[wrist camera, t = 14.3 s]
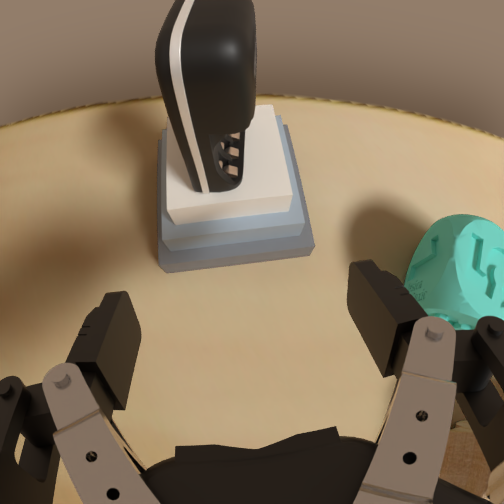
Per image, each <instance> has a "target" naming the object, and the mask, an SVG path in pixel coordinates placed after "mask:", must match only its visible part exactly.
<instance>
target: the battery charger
mask: <svg viewBox="0 0 504 504" xmlns="http://www.w3.org/2000/svg"><path fill="white" fill-rule="evenodd" d="M256 61H257V47H256V24H255V12H254V5H253V2H252V1H251V0H175V2H174V4H173V6H172V8H171V9H170V11H169V13H168V15H167V17H166V20H165V22H164V24H163V26H162V28H161V31H160V33H159V36H158V39H157V42H156V48H155V65H156V73H157V77H158V82H159V85H160V89H161V92H162V96H163V100H164V103H165V107H166V110H167V113H168V116H169V119H170V123H171V126H172V129H173V132H174V135H175V137H176V140H177V143H178V146H179V149H180V151H181V154H182V157H183V159H184V162H185V165H186V168H187V171H188V174H189V177H190V181H191V184H192V187H193V189H194V191H195V192H203V194H210V192H213V193H220V192H226V191H230V190H233V189H235V188H237V187H238V186H239V185H240V184H241V182H242V178H243V169H244V147H245V130H246V129H247V128H248V127H249V126H250V124H251V120H252V119H253V117H254V113H255V99H256V63H257V62H256Z"/></svg>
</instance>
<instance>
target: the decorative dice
mask: <svg viewBox="0 0 504 504" xmlns="http://www.w3.org/2000/svg"><path fill="white" fill-rule="evenodd" d="M404 287H406V289H407V290H408V291H409V293H410V294H411V295H412V296H413V297H414V298H415V299H416V301H417V302H418V303H419V304H420V306H421V307H422V308H423V309H424V311H425V312H426V313H427V314H428V316H434V317H439V318H442V319H444V320H446V321H448V322H449V323H450V324H451V325H452V326H453V327H454V329H455V330H474V329H475V327H476V324H477V322H478V320H479V319H480V318H481V317H484V316H495V317H498V318H501V319H502V320H504V231H503V230H502V229H501V228H500V227H499V226H497V225H496V224H494V223H493V222H491V221H489V220H487V219H485V218H482V217H478V216H474V215H466V214H458V215H451V216H447V217H445V218H442V219H440V220H438V221H437V222H435V223H434V224H433V225H432V226H431V227H430V228H429V230H428V231H427V232H426V233H425V235H424V236H423V238H422V240H421V241H420V243H419V245H418V247H417V249H416V251H415V253H414V255H413V257H412V260H411V262H410V265H409V268H408V271H407V274H406V278H405V283H404Z"/></svg>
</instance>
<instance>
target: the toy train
mask: <svg viewBox="0 0 504 504" xmlns="http://www.w3.org/2000/svg"><path fill="white" fill-rule="evenodd" d="M490 474H491V471H490V468H489V466H488V464H487V461H486V459H485V457H484V455H483V452H482V450H481V448H480V446H479V444H478V442H477V440H476V438H475V435H474V433H473V431H472V429H471V427H470V425H469V423H468V421H467V420H464V421H459V422H456V426H455V428H454V429H450V431H449V436H448V441H447V445H446V450H445V454H444V458H443V462H442V466H441V471H440V475H439V478H441V479H443V480H445V481H447V482H449V483H451V484H453V485H455V486H458V487H460V488H462V489H464V490H466V491H468V492H470V493H472V494H475V495H477V496H479V497H481V498H486V497H487V496H486V491H487V488H488V480H489V476H490Z"/></svg>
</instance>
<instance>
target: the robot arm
mask: <svg viewBox="0 0 504 504" xmlns="http://www.w3.org/2000/svg"><path fill="white" fill-rule="evenodd" d="M347 306H348V310H349V313H350V315H351V317H352V319H353V321H354V323H355V325H356V327H357V328H358V330H359V332H360V334H361V336H362V338H363V340H364V342H365V343H366V345H367V347H368V349H369V351H370V353H371V355H372V357H373V359H374V361H375V363H376V365H377V367H378V369H379V371H380V373H381V374H382V376H383V378H384V377H388V376H392V375H395V376H396V378H397V382H396V384H395V388H394V391H393V394H392V397H391V400H390V403H389V406H388V409H387V411H386V414H385V417H384V420H383V422H382V425H381V428H380V430H379V433H378V435H377V437H376V440H375V442H372V441H368V440H365V439H361V438H356V437H347V436H339V434H338V431H337V428H336V426H335V427H330V428H326V429H321V430H317V431H312V432H306V433H301V434H297V435H294V436H292V437H289V438H287V439H284V440H282V441H279V442H276V443H274V444H271V445H268V446H266V447H263V448H260V449H246V448H237V447H229V446H221V445H196V446H175V457H172V458H169V459H166V460H163V461H161V462H159V463H157V464H154V465H153V466H151V467H150V468H148V469H147V468H146V467H145V465H144V464H143V463H142V462H141V460H140V459H139V458H138V456H137V455H136V454H135V452H134V451H133V449H132V448H131V446H130V445H129V443H128V442H127V440H126V439H125V437H124V436H123V434H122V433H121V431H120V429H119V428H118V426H117V425H116V423H115V421H114V420H113V419H112V413H113V410H125V409H126V404H127V399H128V394H129V389H130V385H131V380H132V376H133V372H134V367H135V363H136V359H137V355H138V351H139V346H140V342H141V328H140V324H139V321H138V319H137V316H136V313H135V311H134V308H133V305H132V302H131V300H130V297H129V294H128V293H127V292H126V291H120V292H110V293H106V294H105V296H104V298H103V300H102V302H101V304H100V306H99V307H95V308H94V309H93V310H92V311H91V312H90V313H89V314H88V315H87V317H86V319H85V321H84V323H83V325H82V328H81V329H80V331H79V333H78V336H77V338H76V340H75V342H74V344H73V346H72V348H71V351H70V353H69V355H68V358H67V360H66V362H65V363H62V364H59V365H56V366H55V367H53V368H52V369H50V370H49V371H48V372H47V374H46V375H45V377H44V379H43V382H42V383H39V384H35V385H31V386H25V385H24V384H23V382H22V381H21V380H20V378H18V377H16V376H9V377H6V378H4V379H2V380H1V381H0V504H53V496H54V490H55V483H56V477H57V472H58V466H59V461H60V456H61V458H62V460H63V463H64V465H65V467H66V469H67V472H68V474H69V476H70V478H71V480H72V482H73V484H74V486H75V488H76V490H77V492H78V494H79V496H80V498H81V500H82V502H83V504H504V401H503V400H502V398H501V396H500V395H499V393H498V391H497V390H496V388H495V387H494V385H493V383H492V382H491V380H490V379H491V377H492V375H494V377H495V378H496V380H497V381H498V383H499V384H500V386H501V388H502V389H503V391H504V320H502V319H501V318H498V317H495V316H484V317H481V318H480V319H479V320H478V322H477V324H476V327H475V329H474V330H455V329H454V327H453V326H452V325H451V324H450V323H449V322H448V321H446V320H444V319H442V318H439V317H434V316H428V314H427V313H426V312H425V311H424V309H423V308H422V307H421V306H420V304H419V303H418V302H417V301H416V299H415V298H414V297H413V296H412V295H411V294H410V293H409V291H408V290H407V289H406V287H404V285H403V284H402V283H401V282H400V280H399V279H398V278H397V277H396V276H394V275H392V274H391V273H389V272H387V271H381V270H380V269H379V268H378V267H377V265H376V264H375V263H374V262H373V261H372V260H363V261H357V262H351V264H350V266H349V278H348V290H347ZM455 398H456V400H457V402H458V404H459V406H460V407H461V409H462V411H463V413H464V415H465V417H466V419H467V421H468V423H469V425H470V427H471V429H472V431H473V433H474V435H475V438H476V440H477V442H478V444H479V446H480V448H481V450H482V452H483V455H484V457H485V459H486V461H487V464H488V466H489V468H490V471H491V474H490V476H489V480H488V488H487V491H486V496H487V498H488V499H490V501H488V500H486V499H484V498H481V497H479V496H477V495H475V494H472V493H470V492H468V491H466V490H464V489H462V488H460V487H458V486H455V485H453V484H451V483H449V482H447V481H445V480H443V479H441V478H439V474H440V470H441V466H442V462H443V458H444V454H445V450H446V445H447V441H448V436H449V431H450V426H451V421H452V415H453V409H454V402H455ZM20 433H21V434H22V435H23V436H24V437H25V442H24V445H23V449H22V453H21V457H20V461H19V465H18V464H17V462H16V460H15V455H14V452H15V448H16V444H17V441H18V437H19V434H20Z"/></svg>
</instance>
